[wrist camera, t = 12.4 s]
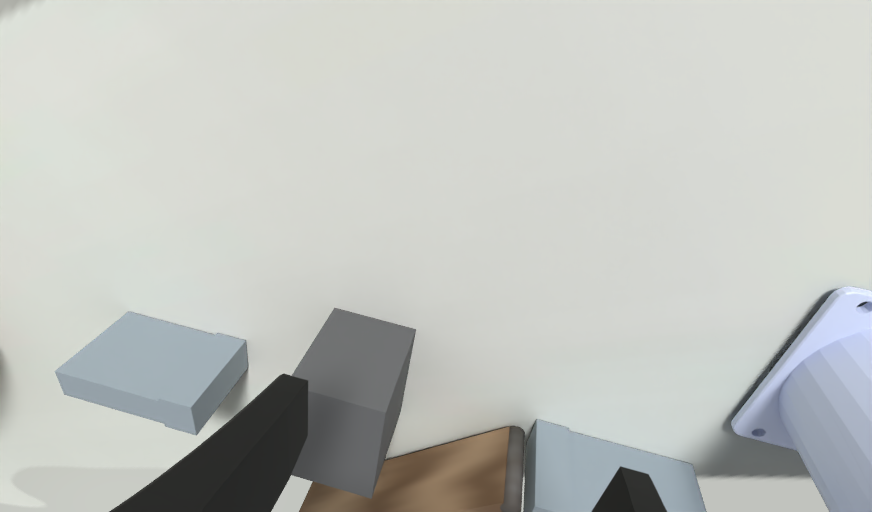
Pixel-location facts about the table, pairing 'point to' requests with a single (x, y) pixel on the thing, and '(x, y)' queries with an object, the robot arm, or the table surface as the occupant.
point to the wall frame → (227, 361)
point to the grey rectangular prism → (352, 399)
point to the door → (440, 479)
